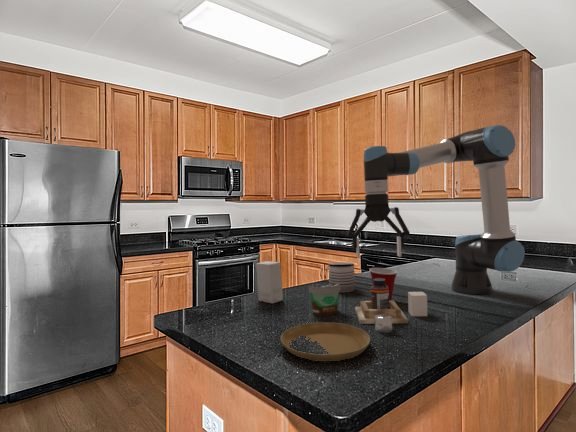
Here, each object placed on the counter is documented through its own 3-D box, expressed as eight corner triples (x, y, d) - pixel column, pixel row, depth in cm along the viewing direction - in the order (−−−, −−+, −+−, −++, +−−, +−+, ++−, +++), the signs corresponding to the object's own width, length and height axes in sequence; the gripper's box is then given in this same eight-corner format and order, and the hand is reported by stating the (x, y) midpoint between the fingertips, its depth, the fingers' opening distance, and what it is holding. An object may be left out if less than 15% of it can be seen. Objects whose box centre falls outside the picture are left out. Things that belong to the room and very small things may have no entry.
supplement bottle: (369, 310, 130) (368, 278, 129) (386, 309, 130) (385, 276, 130) (374, 315, 124) (373, 281, 123) (392, 314, 124) (390, 280, 124)
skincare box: (283, 300, 152) (281, 262, 151) (271, 304, 147) (270, 264, 146) (268, 297, 157) (267, 260, 157) (257, 300, 152) (255, 262, 152)
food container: (318, 318, 127) (317, 289, 126) (309, 314, 132) (308, 286, 132) (348, 312, 132) (347, 284, 132) (338, 308, 138) (337, 281, 137)
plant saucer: (359, 330, 115) (359, 319, 115) (381, 365, 91) (381, 351, 91) (280, 334, 114) (280, 323, 114) (281, 370, 90) (281, 356, 90)
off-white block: (423, 311, 130) (422, 291, 130) (427, 316, 125) (427, 295, 125) (408, 311, 131) (408, 291, 130) (412, 316, 126) (411, 295, 125)
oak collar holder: (397, 309, 134) (397, 299, 134) (408, 323, 119) (407, 311, 119) (355, 310, 135) (354, 299, 135) (360, 323, 120) (359, 312, 120)
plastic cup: (400, 304, 140) (399, 272, 140) (370, 303, 142) (369, 272, 142) (397, 296, 151) (396, 266, 150) (369, 296, 153) (369, 267, 152)
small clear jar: (390, 327, 116) (390, 314, 116) (393, 332, 112) (393, 319, 111) (374, 327, 117) (373, 314, 117) (376, 332, 112) (376, 319, 112)
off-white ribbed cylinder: (326, 291, 164) (325, 264, 163) (333, 285, 174) (332, 259, 174) (352, 293, 159) (351, 264, 159) (357, 286, 170) (356, 260, 169)
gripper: (339, 195, 122) (341, 259, 123) (417, 191, 121) (419, 257, 122) (338, 195, 130) (340, 256, 131) (411, 191, 128) (413, 253, 129)
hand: (378, 257), depth 126 cm, fingers open, 13 cm apart
